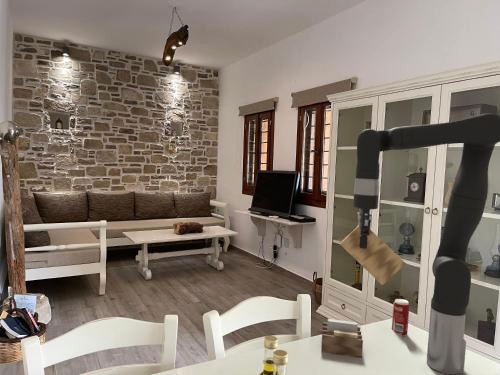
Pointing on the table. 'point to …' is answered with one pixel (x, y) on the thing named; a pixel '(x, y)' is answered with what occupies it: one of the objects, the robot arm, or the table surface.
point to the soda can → (400, 316)
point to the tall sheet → (373, 255)
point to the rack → (341, 343)
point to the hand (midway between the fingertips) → (362, 247)
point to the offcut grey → (341, 325)
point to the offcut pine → (345, 334)
